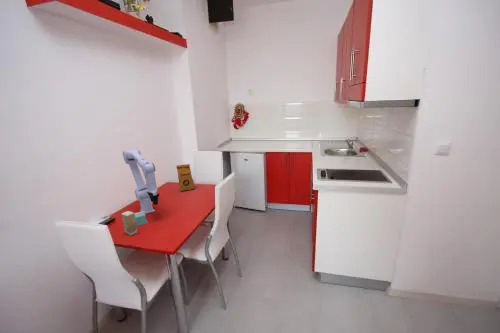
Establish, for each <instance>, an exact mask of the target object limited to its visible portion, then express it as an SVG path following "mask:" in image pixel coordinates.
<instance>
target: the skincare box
mask: <svg viewBox="0 0 500 333" xmlns="http://www.w3.org/2000/svg"><path fill="white" fill-rule="evenodd" d="M134 214H135V212H132V211H129V210H127V211H124V212H122V213H121V219H122V222H123V223H122V224H123V229H124V233H125V234H126V235H129V236H132V235H133V236H134V234H137V233H138V226H136V220H135V215H134Z"/></svg>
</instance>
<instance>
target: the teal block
mask: <svg viewBox="0 0 500 333" xmlns="http://www.w3.org/2000/svg"><path fill="white" fill-rule="evenodd" d="M145 216H146V214H145V215H144V213H139V214H136V215H135V219H136V223H137V225H140V224H143V223H146V220H147V218H146V217H145ZM140 226H141V225H140Z"/></svg>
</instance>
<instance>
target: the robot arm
mask: <svg viewBox="0 0 500 333" xmlns="http://www.w3.org/2000/svg"><path fill="white" fill-rule="evenodd" d="M122 158H123V161H124V163H125V164H127V165H128V167H129V169H130V170H131V173H132V176H133V178H134V181H135V183H136V188H135V189H134V194H135V198H136V200H137V201H139V204H140V208H139V212H142V211H145V215H146V214H148V213H152V212H155V208H153V205H154V206H158V205H159V196H160V193H157V192H158V187H157V180H156V176H155V172H156V165H155V163H154V162H150V161H148V160H147V158H146V157H143V156H142V155H141V150H140V148H138V147H137V148H131V149H126V150H125V149H124V150H123V151H122ZM139 167H140V168H141V171H142V173H141V171H140V168H139ZM142 174H143V175H142ZM143 177H144V178H143ZM144 179H145V181H144Z"/></svg>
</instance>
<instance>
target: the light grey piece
mask: <svg viewBox="0 0 500 333" xmlns="http://www.w3.org/2000/svg"><path fill="white" fill-rule="evenodd" d="M139 213H144V215H145V218H146V214H145V211H142V212H141V211H139V212H134V215H136V214H139ZM135 220H136V219H135Z"/></svg>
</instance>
